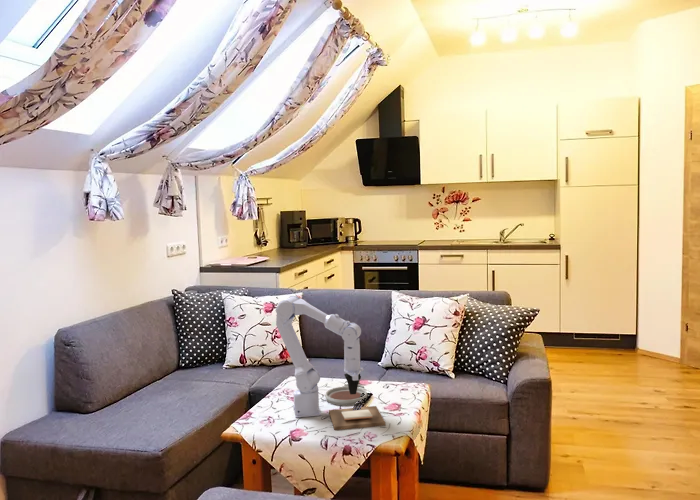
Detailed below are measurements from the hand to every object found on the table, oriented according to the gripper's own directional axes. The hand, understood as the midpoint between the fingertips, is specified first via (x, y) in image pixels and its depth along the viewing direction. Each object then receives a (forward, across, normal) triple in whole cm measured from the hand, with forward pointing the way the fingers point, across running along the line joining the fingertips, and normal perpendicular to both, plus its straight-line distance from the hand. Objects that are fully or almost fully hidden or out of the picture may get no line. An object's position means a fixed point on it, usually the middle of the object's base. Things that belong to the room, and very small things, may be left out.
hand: (352, 393), depth 222 cm
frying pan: (+9, +24, -2) cm, 26 cm away
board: (+9, -3, -1) cm, 9 cm away
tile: (+6, -3, -1) cm, 7 cm away
